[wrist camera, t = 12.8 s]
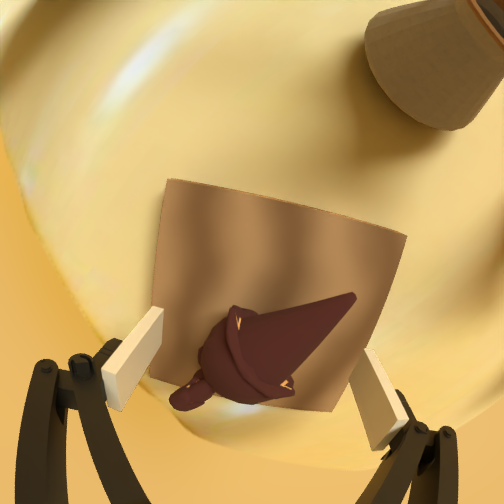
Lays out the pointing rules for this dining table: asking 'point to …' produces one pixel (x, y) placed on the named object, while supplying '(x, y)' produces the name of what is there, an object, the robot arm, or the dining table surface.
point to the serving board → (266, 279)
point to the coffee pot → (438, 58)
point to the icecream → (259, 352)
